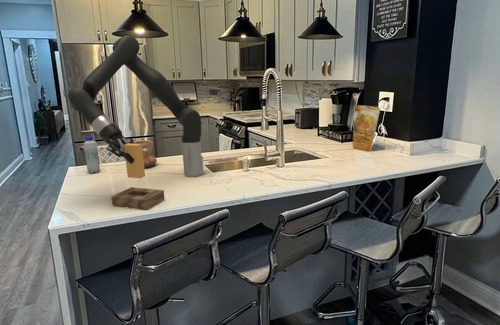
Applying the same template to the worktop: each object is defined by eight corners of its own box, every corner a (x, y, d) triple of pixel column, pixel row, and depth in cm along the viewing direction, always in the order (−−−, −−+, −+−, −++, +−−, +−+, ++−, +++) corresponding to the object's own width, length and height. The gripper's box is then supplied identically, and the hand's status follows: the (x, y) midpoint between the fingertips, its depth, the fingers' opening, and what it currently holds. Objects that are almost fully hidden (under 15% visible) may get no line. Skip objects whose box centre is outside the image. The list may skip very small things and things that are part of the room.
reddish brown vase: (160, 167, 195) (158, 142, 192) (134, 171, 188) (131, 145, 185) (152, 162, 210) (150, 138, 207) (127, 165, 203) (124, 141, 200)
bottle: (90, 171, 192) (84, 135, 187) (102, 170, 192) (97, 134, 187) (85, 174, 185) (80, 137, 180) (98, 173, 186) (93, 136, 181)
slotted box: (112, 205, 138) (111, 196, 137) (132, 196, 149) (131, 187, 148) (146, 210, 132) (145, 200, 131) (164, 199, 143) (163, 190, 142)
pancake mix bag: (355, 146, 237) (357, 104, 230) (378, 151, 221) (381, 106, 214) (348, 147, 233) (350, 105, 227) (371, 152, 217) (373, 107, 211)
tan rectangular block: (127, 177, 138) (123, 144, 134) (132, 175, 140) (128, 143, 137) (140, 178, 136) (136, 145, 132) (145, 176, 138) (141, 144, 135)
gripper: (97, 125, 129) (128, 159, 128) (123, 120, 142) (151, 150, 141) (88, 139, 133) (118, 172, 131) (114, 132, 145) (142, 162, 144)
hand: (135, 160), depth 136 cm, fingers closed on tan rectangular block, 3 cm apart
